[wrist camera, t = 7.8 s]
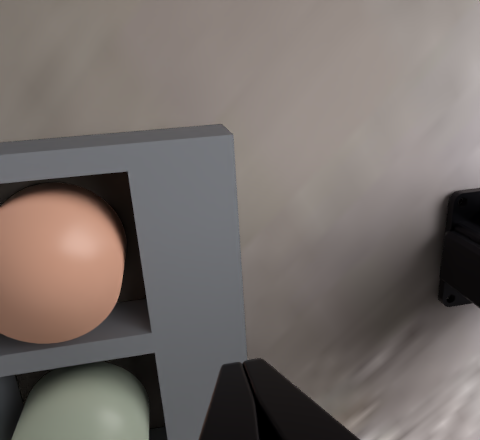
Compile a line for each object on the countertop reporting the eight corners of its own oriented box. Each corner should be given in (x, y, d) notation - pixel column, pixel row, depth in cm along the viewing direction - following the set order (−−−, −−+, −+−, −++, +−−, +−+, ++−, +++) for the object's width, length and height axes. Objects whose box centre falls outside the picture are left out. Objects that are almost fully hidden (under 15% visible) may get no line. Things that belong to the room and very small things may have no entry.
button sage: (141, 351, 20) (138, 401, 17) (156, 444, 22) (156, 504, 19) (11, 372, 19) (-15, 428, 16) (39, 466, 21) (20, 532, 18)
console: (222, 124, 19) (233, 134, 16) (250, 524, 28) (260, 575, 25) (-163, 156, 17) (-226, 174, 14) (-3, 580, 26) (-22, 643, 23)
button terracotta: (116, 175, 19) (108, 197, 16) (134, 292, 21) (131, 331, 18) (-27, 189, 18) (-63, 215, 15) (7, 310, 20) (-20, 354, 17)
